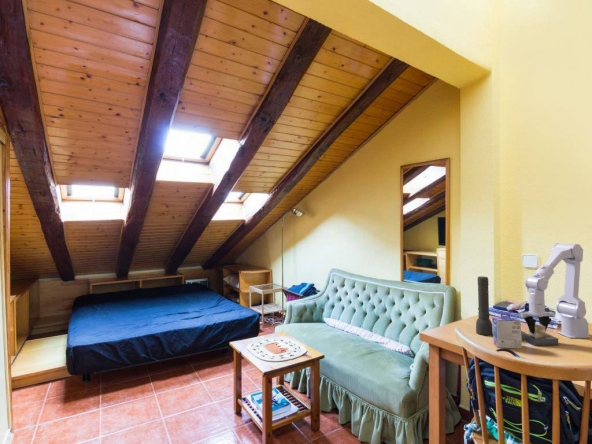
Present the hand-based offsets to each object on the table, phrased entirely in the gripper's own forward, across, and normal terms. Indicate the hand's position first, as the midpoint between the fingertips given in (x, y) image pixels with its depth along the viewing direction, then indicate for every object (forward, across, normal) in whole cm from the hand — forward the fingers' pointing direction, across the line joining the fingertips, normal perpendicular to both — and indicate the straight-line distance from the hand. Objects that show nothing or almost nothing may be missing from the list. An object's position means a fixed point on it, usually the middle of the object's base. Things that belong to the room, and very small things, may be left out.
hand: (537, 332), depth 145 cm
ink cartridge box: (+4, +17, +5) cm, 18 cm away
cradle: (+4, 0, 0) cm, 4 cm away
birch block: (+2, 0, 0) cm, 2 cm away
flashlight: (+4, +18, -11) cm, 21 cm away
